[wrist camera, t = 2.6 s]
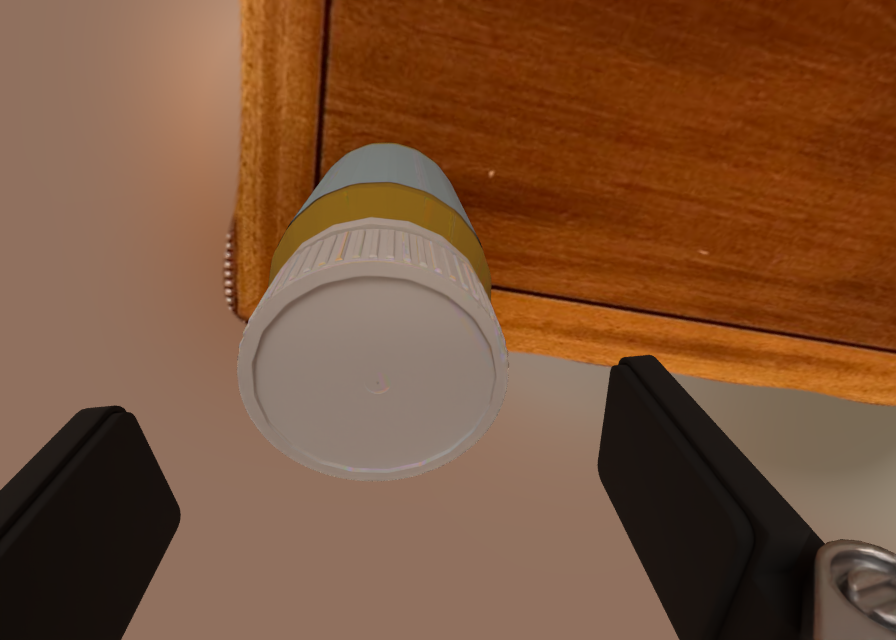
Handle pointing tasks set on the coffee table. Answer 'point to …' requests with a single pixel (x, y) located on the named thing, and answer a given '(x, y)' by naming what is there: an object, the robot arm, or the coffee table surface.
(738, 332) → the coffee table surface
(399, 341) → the bottle
